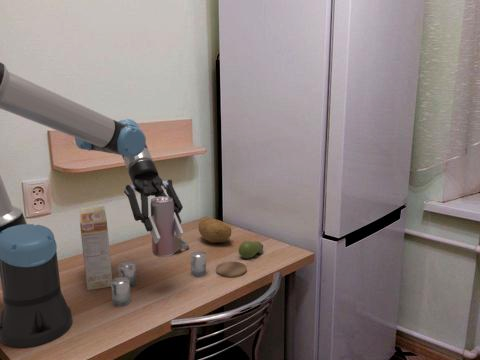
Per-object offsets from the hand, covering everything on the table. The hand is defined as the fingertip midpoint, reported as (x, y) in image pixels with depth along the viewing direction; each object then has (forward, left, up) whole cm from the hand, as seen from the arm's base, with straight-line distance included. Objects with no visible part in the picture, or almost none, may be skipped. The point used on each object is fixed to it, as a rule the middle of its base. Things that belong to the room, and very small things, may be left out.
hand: (169, 238), depth 110 cm
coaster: (+12, +16, -16) cm, 26 cm away
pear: (+16, +30, -16) cm, 37 cm away
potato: (+1, +39, -16) cm, 43 cm away
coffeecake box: (-25, +5, -16) cm, 30 cm away
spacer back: (-14, +3, -16) cm, 21 cm away
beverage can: (-3, +2, -6) cm, 7 cm away
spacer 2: (+3, +13, -16) cm, 21 cm away
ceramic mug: (-11, +30, -16) cm, 35 cm away
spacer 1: (-11, -7, -16) cm, 20 cm away
